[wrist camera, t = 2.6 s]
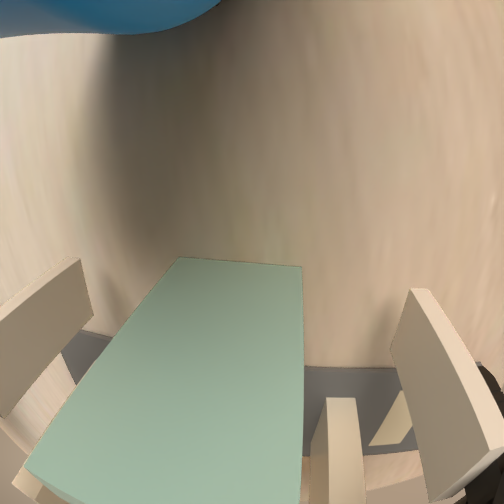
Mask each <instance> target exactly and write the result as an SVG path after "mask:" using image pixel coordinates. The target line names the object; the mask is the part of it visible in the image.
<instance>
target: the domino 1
mask: <svg viewBox="0 0 504 504" xmlns="http://www.w3.org/2000/svg"><path fill="white" fill-rule="evenodd" d="M95 361H96V360H95ZM95 361H94V363H95ZM94 363H93V364H94ZM93 364H92V365H93ZM92 365H91V367H92ZM91 367H90V368H91ZM90 368H89V369H90ZM89 369H88V371H89ZM88 371H87V372H88ZM87 372H86V373H87ZM86 373H85V375H86ZM85 375H84V376H85ZM84 376H83V377H82V379H83V378H84ZM82 379H81V380H82ZM81 380H80V382H81ZM80 382H79V383H80ZM79 383H78V384H79ZM78 384H77V386H78ZM77 386H76V387H77ZM76 387H75V388H74V390H75V389H76ZM74 390H73V391H74ZM73 391H72V393H73ZM72 393H71V394H72ZM71 394H70V395H69V397H70V396H71ZM69 397H68V398H69ZM68 398H67V400H68ZM67 400H66V401H67ZM66 401H65V402H64V404H65V403H66ZM64 404H63V405H64ZM63 405H62V407H63ZM62 407H61V408H62ZM61 408H60V410H61ZM60 410H59V411H60ZM59 411H58V412H57V414H58V413H59ZM57 414H56V415H55V417H56V416H57ZM55 417H54V418H55ZM54 418H53V420H54ZM53 420H52V421H53ZM52 421H51V423H52ZM51 423H50V424H51ZM50 424H49V426H50ZM49 426H48V427H49ZM48 427H47V429H48ZM47 429H46V430H47ZM46 430H45V431H44V433H45V432H46ZM44 433H43V434H42V436H43V435H44ZM42 436H41V437H40V439H41V438H42ZM40 439H39V441H40ZM39 441H38V442H39ZM38 442H37V444H38ZM37 444H36V445H37ZM36 445H35V447H36ZM35 447H34V448H33V450H34V449H35ZM33 450H32V451H31V453H32V452H33ZM31 453H30V454H29V456H30V455H31ZM29 456H28V457H27V459H28V458H29ZM27 459H26V461H27ZM26 461H25V462H24V464H25V463H26ZM24 464H23V466H24ZM23 466H22V467H21V469H20V470H19V472H18V474H17V475H16V477H15V479H14V480H13V482H12V484H13V485H14V486H15V487H17V488H18V489H19V490H20V491H21V492H23V493H24V494H25V495H27V496H28V497H29V498H31V499H32V500H33V501H35V502H36V503H37V504H70V503H68V502H67V501H65V500H63V499H61V498H60V497H58V496H57V495H55V494H54V493H53V492H52V491H50V490H49V489H48V488H47V487H46V486H44V485H43V484H42V483H41V482H40V481H39V480H38V479H36V478H35V477H34V476H33V475H32V474H31V473H30V472H29V471H28V470H27V469H25V468H24V467H23Z"/></svg>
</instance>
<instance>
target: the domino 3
mask: <svg viewBox="0 0 504 504" xmlns="http://www.w3.org/2000/svg"><path fill="white" fill-rule="evenodd" d="M309 504H366V489H365V476H364V465H363V455H362V446H361V437H360V429H359V421H358V414H357V406H356V399H355V398H330V397H326V400H325V403H324V406H323V409H322V412H321V415H320V418H319V421H318V424H317V427H316V430H315V433H314V435H313V438H312V441H311V452H310V485H309Z"/></svg>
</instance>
